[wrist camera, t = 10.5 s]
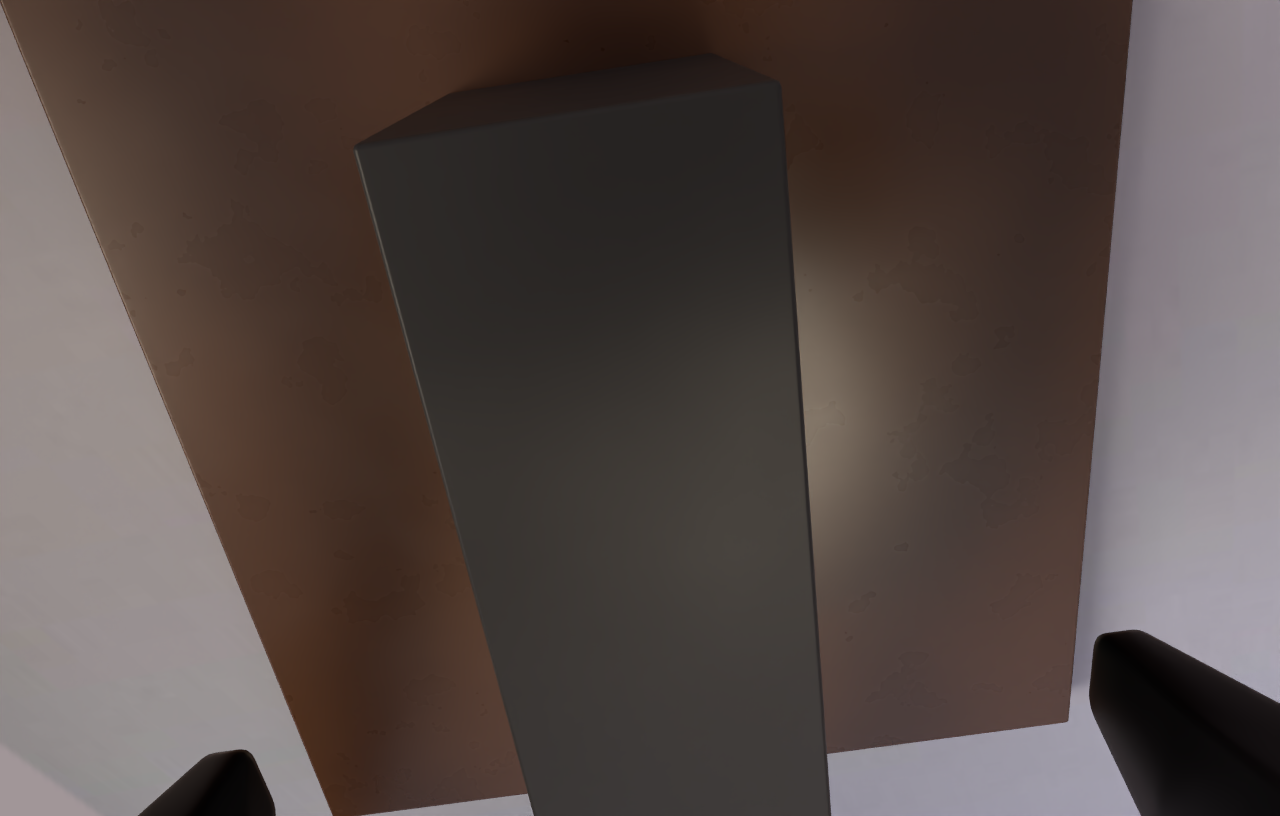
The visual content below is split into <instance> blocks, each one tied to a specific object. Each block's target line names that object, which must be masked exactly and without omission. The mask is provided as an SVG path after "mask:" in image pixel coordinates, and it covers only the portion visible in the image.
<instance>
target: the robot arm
mask: <svg viewBox="0 0 1280 816" xmlns="http://www.w3.org/2000/svg"><path fill="white" fill-rule="evenodd" d="M1089 699H1090V705H1091V709H1092V712H1093V715H1094V718H1095V720H1096V722H1097V724H1098V726H1099V728H1100V731H1101V733H1102V735H1103V737H1104V739H1105V741H1106V743H1107V745H1108V747H1109V749H1110V752H1111V754H1112V756H1113V758H1114V760H1115V762H1116V764H1117V766H1118V768H1119V770H1120V773H1121V775H1122V777H1123V779H1124V781H1125V783H1126V785H1127V787H1128V789H1129V791H1130V794H1131V796H1132V798H1133V800H1134V802H1135V804H1136V806H1137V808H1138V810H1139V812H1140V815H1141V816H1280V703H1278V702H1276V701H1274V700H1272V699H1270V698H1268V697H1267V696H1265V695H1263V694H1261V693H1259V692H1257V691H1255V690H1253V689H1251V688H1250V687H1248V686H1246V685H1244V684H1242V683H1240V682H1238V681H1236V680H1234V679H1233V678H1231V677H1229V676H1227V675H1225V674H1223V673H1221V672H1219V671H1217V670H1216V669H1214V668H1212V667H1210V666H1208V665H1206V664H1204V663H1202V662H1200V661H1199V660H1197V659H1195V658H1193V657H1191V656H1189V655H1187V654H1185V653H1183V652H1182V651H1180V650H1178V649H1176V648H1174V647H1172V646H1170V645H1168V644H1166V643H1165V642H1163V641H1161V640H1159V639H1157V638H1155V637H1153V636H1151V635H1149V634H1148V633H1145V632H1143V631H1140V630H1126V631H1118V632H1111V633H1104V634H1102V635H1100V636H1098V637H1097V639H1096V641H1095V644H1094V650H1093V659H1092V669H1091V679H1090V689H1089ZM138 816H276V814H275V806H274V802H273V799H272V797H271V794H270V792H269V790H268V788H267V785H266V783H265V781H264V779H263V776H262V774H261V772H260V770H259V768H258V765H257V763H256V761H255V759H254V757H253V755H252V754H251V753H250V752H248V751H247V750H242V749H241V750H232V751H225V752H218V753H213V754H209V755H207V756H205V757H204V758H203V759H201V760H200V761H199V762H198V763H197V764H196V765H194V766H193V767H192V768H191V769H190V770H189V771H188V772H187V773H185V774H184V775H183V776H182V777H181V778H180V779H179V780H178V781H176V782H175V783H174V784H173V785H172V786H171V787H170V788H169V789H167V790H166V791H165V792H164V793H163V794H162V795H161V796H160V797H158V798H157V799H156V800H155V801H154V802H153V803H152V804H151V805H149V806H148V807H147V808H146V809H145V810H144V811H143V812H142V813H140V814H139V815H138Z"/></svg>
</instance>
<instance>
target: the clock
mask: <svg viewBox="0 0 1280 816" xmlns="http://www.w3.org/2000/svg"><path fill="white" fill-rule="evenodd" d="M353 153H354V156H355V160H356V164H357V167H358V171H359V175H360V178H361V182H362V186H363V189H364V193H365V197H366V200H367V204H368V208H369V211H370V215H371V219H372V222H373V226H374V230H375V233H376V237H377V241H378V244H379V248H380V252H381V255H382V259H383V263H384V266H385V270H386V274H387V278H388V281H389V285H390V289H391V292H392V296H393V300H394V303H395V307H396V311H397V314H398V318H399V322H400V325H401V329H402V333H403V336H404V340H405V344H406V347H407V351H408V355H409V358H410V362H411V366H412V369H413V373H414V377H415V380H416V384H417V388H418V391H419V395H420V399H421V402H422V406H423V410H424V414H425V417H426V421H427V425H428V428H429V432H430V436H431V439H432V443H433V447H434V450H435V454H436V458H437V461H438V465H439V469H440V472H441V476H442V480H443V483H444V487H445V491H446V494H447V498H448V502H449V505H450V509H451V513H452V516H453V520H454V524H455V527H456V531H457V535H458V538H459V542H460V546H461V550H462V553H463V557H464V561H465V564H466V568H467V572H468V575H469V579H470V583H471V586H472V590H473V594H474V597H475V601H476V605H477V608H478V612H479V616H480V619H481V623H482V627H483V630H484V634H485V638H486V641H487V645H488V649H489V652H490V656H491V660H492V663H493V667H494V671H495V674H496V678H497V682H498V686H499V689H500V693H501V697H502V700H503V704H504V708H505V711H506V715H507V719H508V722H509V726H510V730H511V733H512V737H513V741H514V744H515V748H516V752H517V755H518V759H519V763H520V766H521V770H522V774H523V777H524V781H525V785H526V788H527V792H528V796H529V799H530V803H531V807H532V810H533V814H534V816H831V805H830V790H829V776H828V761H827V746H826V732H825V717H824V702H823V688H822V673H821V659H820V644H819V629H818V615H817V600H816V585H815V571H814V556H813V541H812V527H811V512H810V497H809V483H808V468H807V453H806V439H805V424H804V409H803V395H802V380H801V365H800V351H799V336H798V321H797V307H796V292H795V277H794V263H793V248H792V234H791V219H790V204H789V190H788V175H787V160H786V146H785V131H784V116H783V102H782V87H781V84H780V82H779V81H778V80H776V79H773V78H771V77H768V76H766V75H763V74H761V73H759V72H756V71H754V70H751V69H749V68H747V67H744V66H742V65H739V64H737V63H735V62H732V61H730V60H727V59H725V58H723V57H720V56H718V55H715V54H712V53H708V54H702V55H695V56H689V57H682V58H676V59H669V60H663V61H656V62H650V63H643V64H637V65H630V66H624V67H617V68H611V69H604V70H598V71H591V72H585V73H578V74H572V75H565V76H559V77H552V78H546V79H539V80H533V81H526V82H520V83H513V84H507V85H500V86H494V87H487V88H481V89H474V90H468V91H461V92H455V93H449V94H447V95H445V96H444V97H442V98H440V99H438V100H436V101H434V102H433V103H431V104H429V105H427V106H425V107H423V108H422V109H420V110H418V111H416V112H414V113H412V114H411V115H409V116H407V117H405V118H403V119H401V120H400V121H398V122H396V123H394V124H392V125H390V126H389V127H387V128H385V129H383V130H381V131H379V132H378V133H376V134H374V135H372V136H370V137H368V138H367V139H365V140H363V141H361V142H359V143H357V144H356V145H354V148H353Z"/></svg>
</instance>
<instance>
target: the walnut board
mask: <svg viewBox="0 0 1280 816" xmlns="http://www.w3.org/2000/svg"><path fill="white" fill-rule="evenodd" d="M1132 2H1133V0H0V3H1V5H2V8H3V10H4V13H5V15H6V18H7V20H8V23H9V25H10V27H11V30H12V32H13V35H14V37H15V40H16V42H17V45H18V47H19V49H20V52H21V54H22V57H23V59H24V62H25V64H26V67H27V69H28V71H29V74H30V76H31V79H32V81H33V84H34V86H35V89H36V91H37V93H38V96H39V98H40V101H41V103H42V106H43V108H44V111H45V113H46V116H47V118H48V120H49V123H50V125H51V128H52V130H53V133H54V135H55V138H56V140H57V142H58V145H59V147H60V150H61V152H62V155H63V157H64V160H65V162H66V164H67V167H68V169H69V172H70V174H71V177H72V179H73V182H74V184H75V186H76V189H77V191H78V194H79V196H80V199H81V201H82V204H83V206H84V208H85V211H86V213H87V216H88V218H89V221H90V223H91V226H92V228H93V230H94V233H95V235H96V238H97V240H98V243H99V245H100V248H101V250H102V252H103V255H104V257H105V260H106V262H107V265H108V267H109V270H110V272H111V274H112V277H113V279H114V282H115V284H116V287H117V289H118V292H119V294H120V296H121V299H122V301H123V304H124V306H125V309H126V311H127V314H128V316H129V318H130V321H131V323H132V326H133V328H134V331H135V333H136V336H137V338H138V341H139V343H140V345H141V348H142V350H143V353H144V355H145V358H146V360H147V363H148V365H149V367H150V370H151V372H152V375H153V377H154V380H155V382H156V385H157V387H158V389H159V392H160V394H161V397H162V399H163V402H164V404H165V407H166V409H167V411H168V414H169V416H170V419H171V421H172V424H173V426H174V429H175V431H176V433H177V436H178V438H179V441H180V443H181V446H182V448H183V451H184V453H185V455H186V458H187V460H188V463H189V465H190V468H191V470H192V473H193V475H194V477H195V480H196V482H197V485H198V487H199V490H200V492H201V495H202V497H203V499H204V502H205V504H206V507H207V509H208V512H209V514H210V517H211V519H212V521H213V524H214V526H215V529H216V531H217V534H218V536H219V539H220V541H221V543H222V546H223V548H224V551H225V553H226V556H227V558H228V561H229V563H230V566H231V568H232V570H233V573H234V575H235V578H236V580H237V583H238V585H239V588H240V590H241V592H242V595H243V597H244V600H245V602H246V605H247V607H248V610H249V612H250V614H251V617H252V619H253V622H254V624H255V627H256V629H257V632H258V634H259V636H260V639H261V641H262V644H263V646H264V649H265V651H266V654H267V656H268V658H269V661H270V663H271V666H272V668H273V671H274V673H275V676H276V678H277V680H278V683H279V685H280V688H281V690H282V693H283V695H284V698H285V700H286V702H287V705H288V707H289V710H290V712H291V715H292V717H293V720H294V722H295V724H296V727H297V729H298V732H299V734H300V737H301V739H302V742H303V744H304V746H305V749H306V751H307V754H308V756H309V759H310V761H311V764H312V766H313V768H314V771H315V773H316V776H317V778H318V781H319V783H320V786H321V788H322V791H323V793H324V795H325V798H326V800H327V803H328V805H329V808H330V810H331V813H332V815H333V816H361V815H369V814H376V813H384V812H391V811H399V810H407V809H414V808H422V807H429V806H437V805H444V804H452V803H459V802H467V801H475V800H482V799H490V798H497V797H505V796H512V795H520V794H527V793H528V792H527V788H526V785H525V781H524V777H523V774H522V770H521V766H520V763H519V759H518V755H517V752H516V748H515V744H514V741H513V737H512V733H511V730H510V726H509V722H508V719H507V715H506V711H505V708H504V704H503V700H502V697H501V693H500V689H499V686H498V682H497V678H496V674H495V671H494V667H493V663H492V660H491V656H490V652H489V649H488V645H487V641H486V638H485V634H484V630H483V627H482V623H481V619H480V616H479V612H478V608H477V605H476V601H475V597H474V594H473V590H472V586H471V583H470V579H469V575H468V572H467V568H466V564H465V561H464V557H463V553H462V550H461V546H460V542H459V538H458V535H457V531H456V527H455V524H454V520H453V516H452V513H451V509H450V505H449V502H448V498H447V494H446V491H445V487H444V483H443V480H442V476H441V472H440V469H439V465H438V461H437V458H436V454H435V450H434V447H433V443H432V439H431V436H430V432H429V428H428V425H427V421H426V417H425V414H424V410H423V406H422V402H421V399H420V395H419V391H418V388H417V384H416V380H415V377H414V373H413V369H412V366H411V362H410V358H409V355H408V351H407V347H406V344H405V340H404V336H403V333H402V329H401V325H400V322H399V318H398V314H397V311H396V307H395V303H394V300H393V296H392V292H391V289H390V285H389V281H388V278H387V274H386V270H385V266H384V263H383V259H382V255H381V252H380V248H379V244H378V241H377V237H376V233H375V230H374V226H373V222H372V219H371V215H370V211H369V208H368V204H367V200H366V197H365V193H364V189H363V186H362V182H361V178H360V175H359V171H358V167H357V164H356V160H355V156H354V153H353V148H354V145H356V144H357V143H359V142H361V141H363V140H365V139H367V138H368V137H370V136H372V135H374V134H376V133H378V132H379V131H381V130H383V129H385V128H387V127H389V126H390V125H392V124H394V123H396V122H398V121H400V120H401V119H403V118H405V117H407V116H409V115H411V114H412V113H414V112H416V111H418V110H420V109H422V108H423V107H425V106H427V105H429V104H431V103H433V102H434V101H436V100H438V99H440V98H442V97H444V96H445V95H447V94H449V93H455V92H461V91H468V90H474V89H481V88H487V87H494V86H500V85H507V84H513V83H520V82H526V81H533V80H539V79H546V78H552V77H559V76H565V75H572V74H578V73H585V72H591V71H598V70H604V69H611V68H617V67H624V66H630V65H637V64H643V63H650V62H656V61H663V60H669V59H676V58H682V57H689V56H695V55H702V54H708V53H712V54H715V55H718V56H720V57H723V58H725V59H727V60H730V61H732V62H735V63H737V64H739V65H742V66H744V67H747V68H749V69H751V70H754V71H756V72H759V73H761V74H763V75H766V76H768V77H771V78H773V79H776V80H778V81H779V82H780V84H781V87H782V102H783V116H784V131H785V146H786V160H787V175H788V190H789V204H790V219H791V234H792V248H793V263H794V277H795V292H796V307H797V321H798V336H799V351H800V365H801V380H802V395H803V409H804V424H805V439H806V453H807V468H808V483H809V497H810V512H811V527H812V541H813V556H814V571H815V585H816V600H817V615H818V629H819V644H820V659H821V673H822V688H823V702H824V717H825V732H826V746H827V754H830V753H837V752H845V751H852V750H860V749H867V748H875V747H883V746H890V745H898V744H905V743H913V742H920V741H928V740H935V739H943V738H951V737H958V736H966V735H973V734H981V733H988V732H996V731H1003V730H1011V729H1019V728H1026V727H1034V726H1041V725H1049V724H1056V723H1064V722H1067V721H1068V718H1069V707H1070V695H1071V684H1072V673H1073V662H1074V651H1075V639H1076V628H1077V617H1078V606H1079V595H1080V584H1081V572H1082V561H1083V550H1084V539H1085V528H1086V517H1087V505H1088V494H1089V483H1090V472H1091V461H1092V449H1093V438H1094V427H1095V416H1096V405H1097V394H1098V382H1099V371H1100V360H1101V349H1102V338H1103V327H1104V315H1105V304H1106V293H1107V282H1108V271H1109V259H1110V248H1111V237H1112V226H1113V215H1114V204H1115V192H1116V181H1117V170H1118V159H1119V148H1120V137H1121V125H1122V114H1123V103H1124V92H1125V81H1126V69H1127V58H1128V47H1129V36H1130V25H1131V14H1132Z"/></svg>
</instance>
